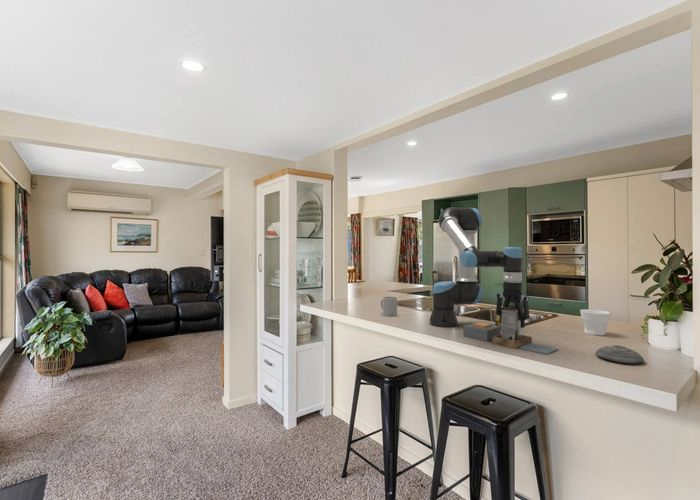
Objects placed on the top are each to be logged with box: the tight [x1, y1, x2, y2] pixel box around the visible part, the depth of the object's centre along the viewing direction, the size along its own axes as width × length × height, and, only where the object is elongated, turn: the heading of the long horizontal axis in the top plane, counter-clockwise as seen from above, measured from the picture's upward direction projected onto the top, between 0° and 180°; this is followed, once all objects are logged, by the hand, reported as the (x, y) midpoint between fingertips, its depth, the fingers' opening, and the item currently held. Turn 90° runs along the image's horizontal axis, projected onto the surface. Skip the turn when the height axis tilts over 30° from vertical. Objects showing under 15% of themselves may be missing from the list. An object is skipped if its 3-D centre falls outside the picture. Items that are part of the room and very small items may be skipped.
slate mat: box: [518, 342, 559, 356], centre depth 150 cm, size 11×11×1 cm
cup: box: [579, 308, 611, 336], centre depth 178 cm, size 12×12×11 cm
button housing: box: [463, 323, 501, 342], centre depth 170 cm, size 12×12×5 cm
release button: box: [472, 321, 492, 328], centre depth 170 cm, size 6×6×5 cm
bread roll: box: [494, 315, 501, 327], centre depth 189 cm, size 13×10×8 cm
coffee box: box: [501, 304, 524, 341], centre depth 159 cm, size 9×6×16 cm
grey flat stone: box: [594, 344, 645, 364], centre depth 138 cm, size 15×15×6 cm
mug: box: [380, 296, 398, 317], centre depth 224 cm, size 12×8×11 cm
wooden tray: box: [491, 334, 533, 350], centre depth 159 cm, size 11×14×3 cm
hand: (511, 333), depth 159 cm, fingers closed on coffee box, 7 cm apart
